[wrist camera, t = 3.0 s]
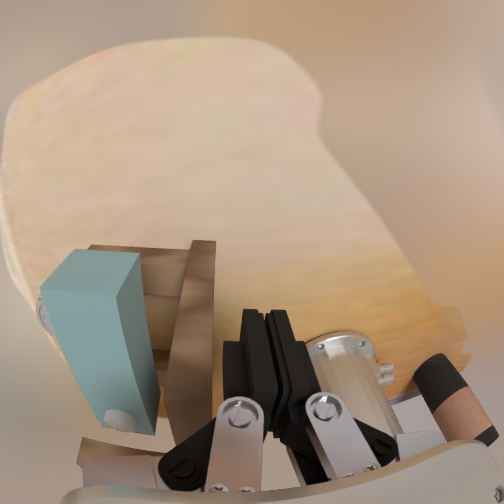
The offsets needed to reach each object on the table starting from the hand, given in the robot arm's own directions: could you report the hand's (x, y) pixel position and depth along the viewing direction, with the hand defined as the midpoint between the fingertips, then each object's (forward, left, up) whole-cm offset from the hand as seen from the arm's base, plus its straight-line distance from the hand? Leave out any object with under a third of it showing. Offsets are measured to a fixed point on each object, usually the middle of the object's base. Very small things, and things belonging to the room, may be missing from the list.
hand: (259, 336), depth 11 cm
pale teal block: (+6, +2, -2) cm, 7 cm away
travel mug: (-35, +24, -14) cm, 45 cm away
